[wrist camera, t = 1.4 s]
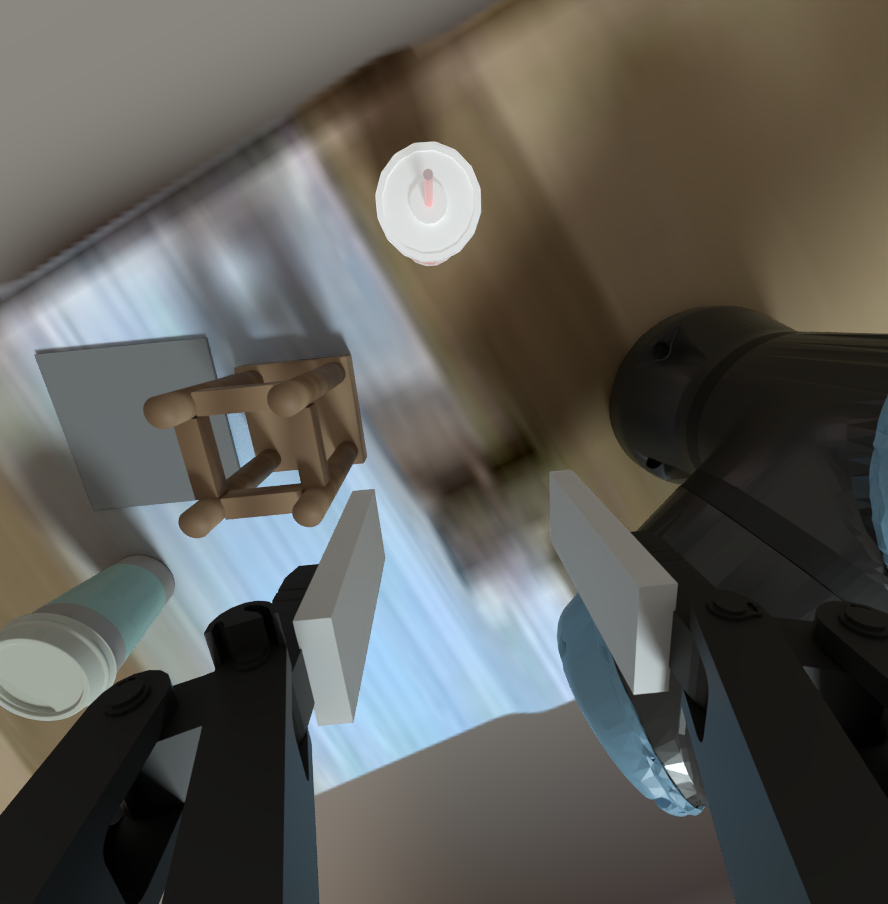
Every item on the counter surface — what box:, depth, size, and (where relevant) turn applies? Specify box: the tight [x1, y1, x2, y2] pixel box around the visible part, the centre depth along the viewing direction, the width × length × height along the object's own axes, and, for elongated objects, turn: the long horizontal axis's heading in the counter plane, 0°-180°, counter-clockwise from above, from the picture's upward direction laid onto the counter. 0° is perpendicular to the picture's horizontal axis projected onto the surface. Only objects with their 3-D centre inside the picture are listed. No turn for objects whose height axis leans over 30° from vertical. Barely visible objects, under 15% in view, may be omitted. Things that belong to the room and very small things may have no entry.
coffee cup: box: [0, 555, 175, 721], centre depth 35 cm, size 9×8×12 cm
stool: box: [143, 355, 367, 538], centre depth 30 cm, size 9×9×14 cm
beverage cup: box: [375, 142, 481, 266], centre depth 26 cm, size 6×6×14 cm
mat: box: [34, 338, 240, 510], centre depth 36 cm, size 14×14×1 cm
